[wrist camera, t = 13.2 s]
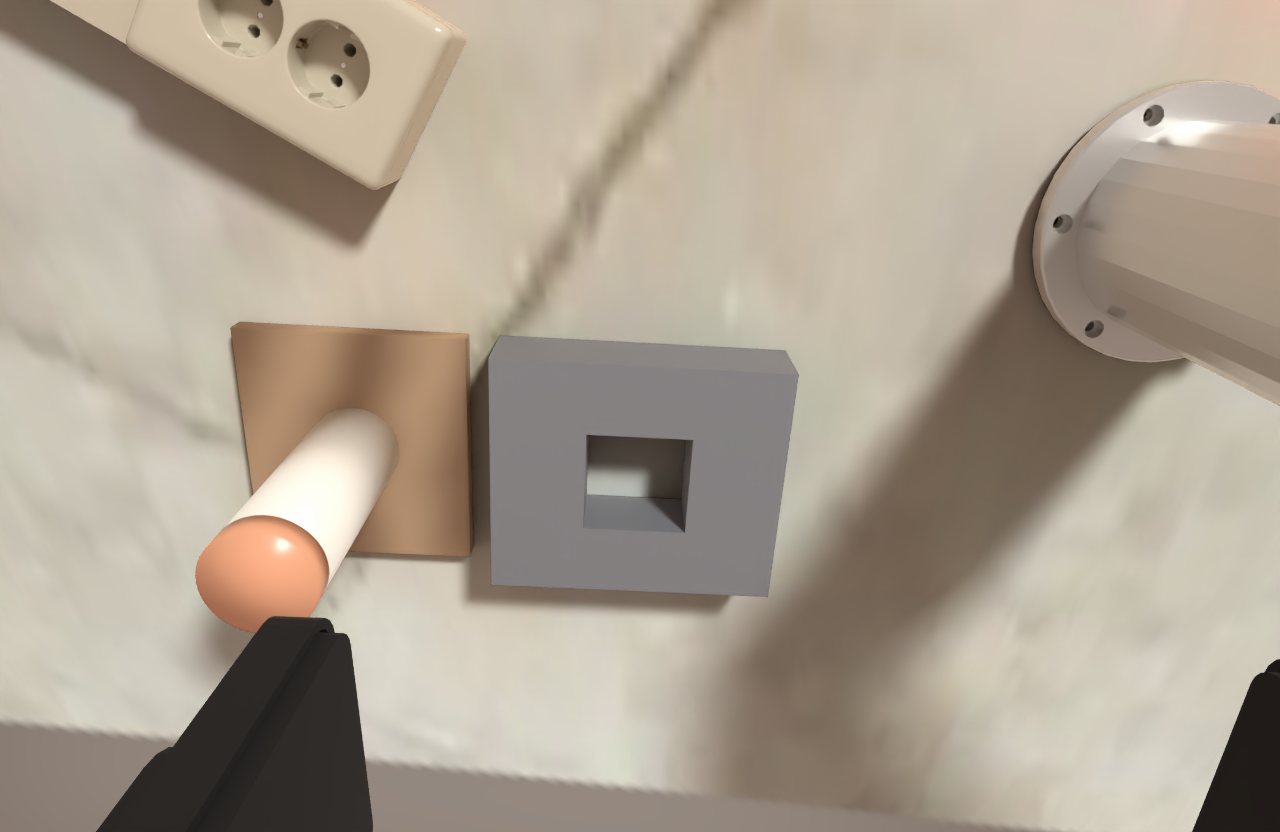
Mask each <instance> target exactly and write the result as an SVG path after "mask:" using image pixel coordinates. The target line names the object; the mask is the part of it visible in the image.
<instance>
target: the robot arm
mask: <svg viewBox="0 0 1280 832" xmlns="http://www.w3.org/2000/svg"><path fill="white" fill-rule="evenodd" d="M1145 111H1147V115H1146V117H1145V118H1144V119H1143V115H1144V113H1145ZM1057 217H1058V222H1057V224H1056V225H1054V226H1053V222H1054V221H1055V219H1056V218H1057ZM1032 254H1033V264H1034V274H1035V279H1036V282H1037V285H1038V288H1039V291H1040V295H1041V298H1042V300H1043V302H1044V303H1045V305H1046V307H1047V308H1048V310H1049V312H1050V313H1051V315H1052V317H1053V318H1054V319H1055V320H1056V321H1057V322H1058V323H1059V324H1060V325H1061V327H1062V328H1063V329H1064V330H1065V331H1066V332H1067V333H1068V334H1070V335H1071V336H1073V337H1074V338H1076V339H1077V340H1079V341H1080V342H1082V343H1083V344H1085V345H1086V346H1088V347H1090V348H1092V349H1094V350H1096V351H1098V352H1100V353H1102V354H1104V355H1107V356H1111V357H1115V358H1119V359H1123V360H1127V361H1138V362H1159V361H1167V360H1175V359H1180V358H1184V357H1185V358H1187V359H1189V360H1191V361H1193V362H1195V363H1197V364H1198V365H1200V366H1202V367H1204V368H1206V369H1208V370H1210V371H1212V372H1214V373H1216V374H1218V375H1220V376H1222V377H1224V378H1226V379H1228V380H1230V381H1232V382H1234V383H1236V384H1238V385H1240V386H1242V387H1244V388H1245V389H1247V390H1249V391H1251V392H1253V393H1255V394H1257V395H1259V396H1261V397H1263V398H1265V399H1267V400H1269V401H1271V402H1273V403H1275V404H1277V405H1279V406H1280V98H1279V97H1277V96H1276V95H1273V94H1271V93H1269V92H1266V91H1264V90H1262V89H1259V88H1257V87H1255V86H1252V85H1246V84H1241V83H1235V82H1229V81H1195V82H1188V83H1181V84H1174V85H1170V86H1167V87H1164V88H1161V89H1158V90H1155V91H1152V92H1149V93H1146V94H1143V95H1142V96H1140V97H1138V98H1136V99H1134V100H1132V101H1130V102H1129V103H1127V104H1125V105H1123V106H1121V107H1119V108H1117V109H1116V110H1115V111H1114V112H1112V113H1111V114H1110V115H1108V116H1107V117H1106V118H1104V119H1103V120H1102V121H1100V122H1099V123H1098V124H1097V125H1095V126H1094V127H1093V128H1092V129H1091V130H1090V131H1089V132H1088V133H1087V134H1086V135H1085V136H1084V137H1083V138H1082V139H1081V140H1080V141H1079V142H1078V143H1077V144H1076V146H1075V147H1074V148H1073V149H1072V150H1071V151H1070V153H1069V154H1068V156H1067V157H1066V159H1065V160H1064V161H1063V163H1062V164H1061V166H1060V167H1059V169H1058V170H1057V172H1056V173H1055V175H1054V177H1053V179H1052V181H1051V183H1050V185H1049V187H1048V189H1047V191H1046V193H1045V196H1044V198H1043V200H1042V203H1041V207H1040V210H1039V214H1038V217H1037V221H1036V224H1035V230H1034V240H1033V250H1032ZM1088 323H1089V325H1088V326H1087V324H1088ZM1086 326H1087V327H1086ZM372 831H373V821H372V812H371V804H370V796H369V788H368V780H367V772H366V764H365V756H364V748H363V740H362V732H361V724H360V716H359V708H358V700H357V691H356V683H355V675H354V667H353V659H352V651H351V644H350V640H349V637H348V636H347V634H344V633H335V632H334V628H333V625H332V623H331V622H330V620H328V619H326V618H310V617H286V616H273V617H270V618H268V619H267V620H266V621H265V622H264V623H263V624H262V625H261V627H260V628H259V630H258V631H257V632H256V634H255V635H254V636H253V638H252V639H251V641H250V642H249V643H248V645H247V646H246V647H245V649H244V650H243V652H242V653H241V654H240V656H239V657H238V658H237V660H236V661H235V663H234V664H233V665H232V667H231V668H230V669H229V671H228V672H227V674H226V675H225V676H224V678H223V679H222V680H221V682H220V683H219V685H218V686H217V687H216V689H215V690H214V691H213V693H212V694H211V696H210V697H209V698H208V700H207V701H206V702H205V704H204V705H203V707H202V708H201V709H200V711H199V712H198V713H197V715H196V716H195V718H194V719H193V720H192V722H191V723H190V724H189V726H188V727H187V729H186V730H185V731H184V733H183V734H182V735H181V737H180V738H179V740H178V741H177V742H176V744H175V745H174V746H173V747H168V748H167V749H165V750H163V751H161V752H160V753H158V754H156V755H155V756H154V758H153V759H152V760H151V761H150V762H149V763H148V764H147V765H146V766H145V767H144V768H143V770H142V771H141V772H140V774H139V775H138V776H137V778H136V779H135V780H134V782H133V783H132V785H131V786H130V787H129V789H128V790H127V791H126V792H125V794H124V795H123V796H122V798H121V799H120V801H119V802H118V803H117V804H116V806H115V807H114V809H113V810H112V811H111V812H110V814H109V815H108V817H107V818H106V819H105V821H104V822H103V823H102V825H101V826H100V827H99V829H98V830H97V831H96V832H372ZM1192 832H1280V659H1278V660H1276V661H1274V662H1273V663H1271V664H1270V665H1269V666H1268V667H1267V669H1266V671H1265V672H1264V673H1260V674H1258V675H1257V676H1256V677H1255V678H1254V679H1253V681H1252V682H1251V684H1250V687H1249V689H1248V692H1247V695H1246V697H1245V700H1244V702H1243V705H1242V707H1241V710H1240V712H1239V715H1238V717H1237V720H1236V722H1235V725H1234V727H1233V730H1232V732H1231V735H1230V738H1229V740H1228V743H1227V745H1226V748H1225V750H1224V753H1223V755H1222V758H1221V760H1220V763H1219V765H1218V768H1217V770H1216V773H1215V776H1214V778H1213V781H1212V783H1211V786H1210V788H1209V791H1208V793H1207V796H1206V798H1205V801H1204V803H1203V806H1202V808H1201V811H1200V813H1199V816H1198V819H1197V821H1196V824H1195V826H1194V829H1193V831H1192Z"/></svg>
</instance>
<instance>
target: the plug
mask: <svg viewBox="0 0 1280 832" xmlns="http://www.w3.org/2000/svg"><path fill="white" fill-rule="evenodd" d="M399 456H400V449H399V443H398V440H397V438H396V435H395V434H394V432H393V430H392V429H391V428H390V426H389V425H388V424H387V423H386V422H385V421H384V420H382V419H381V418H380V417H378V416H377V415H375V414H373V413H371V412H369V411H366V410H362V409H358V408H343V409H338V410H335V411H332V412H330V413H328V414H327V415H325V416H324V417H322V418H321V419H320V420H319V421H318V423H317V424H316V425H315V426H314V427H313V428H312V429H311V430H310V432H309V433H308V434H307V435H306V436H305V437H304V438H303V439H302V441H301V442H300V443H299V444H298V445H297V446H296V447H295V448H294V450H293V451H292V452H291V453H290V454H289V455H288V456H287V457H286V459H285V460H284V461H283V462H282V463H281V464H280V465H279V466H278V468H277V469H276V470H275V471H274V472H273V473H272V474H271V475H270V476H269V478H268V479H267V480H266V481H265V482H264V483H263V484H262V485H261V487H260V488H259V489H258V490H257V491H256V492H255V493H254V494H253V496H252V497H251V498H250V499H249V500H248V501H247V502H246V503H245V505H244V506H243V507H242V508H241V509H240V510H239V511H238V512H237V514H236V515H235V516H234V517H233V518H232V519H231V520H230V521H229V523H228V524H227V525H226V526H225V527H224V528H223V529H222V530H221V532H220V533H219V534H218V535H217V536H216V537H215V538H214V539H213V541H212V542H211V543H210V544H209V545H208V546H207V547H206V548H205V550H204V551H203V552H202V554H201V555H200V557H199V560H198V562H197V566H196V575H195V577H196V584H197V588H198V591H199V593H200V595H201V597H202V599H203V601H204V602H205V604H206V605H207V606H208V608H209V609H210V610H211V611H212V612H213V613H214V614H215V615H217V616H218V617H219V618H220V619H222V620H223V621H225V622H226V623H228V624H230V625H232V626H234V627H236V628H239V629H241V630H244V631H248V632H253V633H256V632H257V631H258V630H259V628H260V627H261V625H262V624H263V623H264V622H265V621H266V620H267V619H268V618H270V617H273V616H286V617H309V616H310V615H311V613H312V612H313V611H314V609H315V607H316V605H317V604H318V602H319V600H320V599H321V597H322V595H323V593H324V592H325V590H326V588H327V586H328V585H329V583H330V581H331V580H332V578H333V576H334V574H335V573H336V571H337V569H338V568H339V566H340V564H341V562H342V561H343V559H344V557H345V555H346V554H347V552H348V550H349V549H350V547H351V545H352V543H353V542H354V540H355V538H356V536H357V535H358V533H359V531H360V530H361V528H362V526H363V524H364V523H365V521H366V519H367V518H368V516H369V514H370V512H371V511H372V509H373V507H374V505H375V504H376V502H377V500H378V499H379V497H380V495H381V493H382V492H383V490H384V488H385V487H386V485H387V483H388V481H389V480H390V478H391V476H392V474H393V473H394V471H395V469H396V467H397V465H398V462H399Z"/></svg>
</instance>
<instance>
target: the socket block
mask: <svg viewBox="0 0 1280 832" xmlns="http://www.w3.org/2000/svg"><path fill="white" fill-rule="evenodd" d="M488 370H489V448H490V525H491V585H506V586H529V587H552V588H575V589H598V590H621V591H645V592H668V593H691V594H714V595H737V596H760V597H768V591H769V584H770V577H771V570H772V563H773V556H774V548H775V541H776V534H777V527H778V520H779V512H780V505H781V498H782V491H783V484H784V477H785V469H786V462H787V455H788V448H789V441H790V433H791V426H792V419H793V412H794V405H795V398H796V390H797V383H798V376H799V374H798V372H797V370H796V369H795V367H794V365H793V363H792V362H791V360H790V358H789V356H788V354H787V353H786V351H784V350H765V349H746V348H727V347H708V346H689V345H670V344H651V343H632V342H613V341H594V340H575V339H556V338H537V337H518V336H499V338H498V340H497V342H496V344H495V346H494V348H493V350H492V352H491V354H490V356H489V358H488ZM589 435H601V436H621V437H642V438H662V439H682V440H686V447H685V459H684V470H683V482H682V493H681V499H668V498H647V497H626V496H604V495H587V470H588V443H589Z"/></svg>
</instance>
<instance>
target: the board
mask: <svg viewBox="0 0 1280 832" xmlns="http://www.w3.org/2000/svg"><path fill="white" fill-rule="evenodd" d="M231 336H232V343H233V350H234V358H235V365H236V372H237V380H238V387H239V394H240V402H241V409H242V416H243V424H244V431H245V438H246V446H247V453H248V460H249V468H250V475H251V482H252V490H253V494H254V493H255V492H256V491H257V490H258V489H259V488H260V487H261V485H262V484H263V483H264V482H265V481H266V480H267V479H268V478H269V476H270V475H271V474H272V473H273V472H274V471H275V470H276V469H277V468H278V466H279V465H280V464H281V463H282V462H283V461H284V460H285V459H286V457H287V456H288V455H289V454H290V453H291V452H292V451H293V450H294V448H295V447H296V446H297V445H298V444H299V443H300V442H301V441H302V439H303V438H304V437H305V436H306V435H307V434H308V433H309V432H310V430H311V429H312V428H313V427H314V426H315V425H316V424H317V423H318V421H319V420H320V419H321V418H322V417H324V416H325V415H327V414H328V413H330V412H332V411H335V410H338V409H343V408H358V409H362V410H366V411H369V412H371V413H373V414H375V415H377V416H378V417H380V418H381V419H382V420H384V421H385V422H386V423H387V424H388V425H389V426H390V428H391V429H392V430H393V432H394V434H395V435H396V438H397V440H398V443H399V449H400V456H399V462H398V465H397V467H396V469H395V471H394V473H393V474H392V476H391V478H390V480H389V481H388V483H387V485H386V487H385V488H384V490H383V492H382V493H381V495H380V497H379V499H378V500H377V502H376V504H375V505H374V507H373V509H372V511H371V512H370V514H369V516H368V518H367V519H366V521H365V523H364V524H363V526H362V528H361V530H360V531H359V533H358V535H357V536H356V538H355V540H354V542H353V543H352V545H351V547H350V549H349V550H348V551H353V552H376V553H398V554H421V555H443V556H466V557H470V556H471V553H472V550H473V547H474V541H473V495H472V450H471V404H470V359H469V334H461V333H442V332H423V331H404V330H385V329H366V328H347V327H328V326H309V325H290V324H271V323H252V322H239V323H237V324H236V325H234V326H232V327H231Z"/></svg>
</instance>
